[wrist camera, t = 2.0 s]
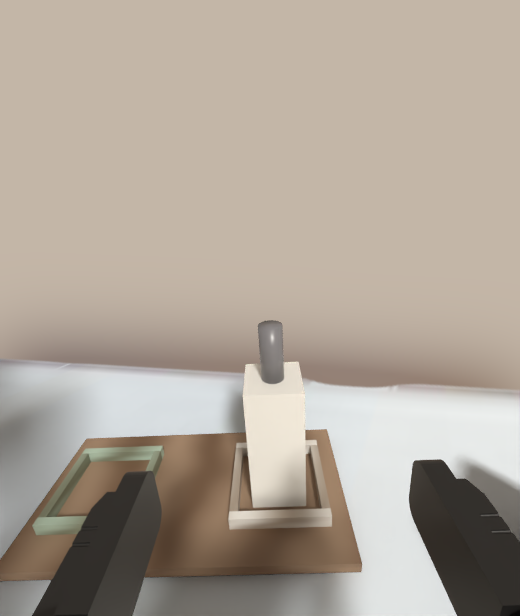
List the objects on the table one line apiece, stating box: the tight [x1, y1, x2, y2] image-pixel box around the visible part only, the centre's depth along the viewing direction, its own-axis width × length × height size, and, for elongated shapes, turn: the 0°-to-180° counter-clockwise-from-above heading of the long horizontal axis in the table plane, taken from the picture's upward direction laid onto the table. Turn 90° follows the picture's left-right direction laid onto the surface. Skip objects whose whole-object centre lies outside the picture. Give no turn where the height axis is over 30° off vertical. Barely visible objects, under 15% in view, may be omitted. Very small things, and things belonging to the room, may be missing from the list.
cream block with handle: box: [243, 321, 306, 508], centre depth 24 cm, size 4×5×14 cm
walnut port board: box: [0, 429, 362, 581], centre depth 26 cm, size 24×12×2 cm, turn 89°
